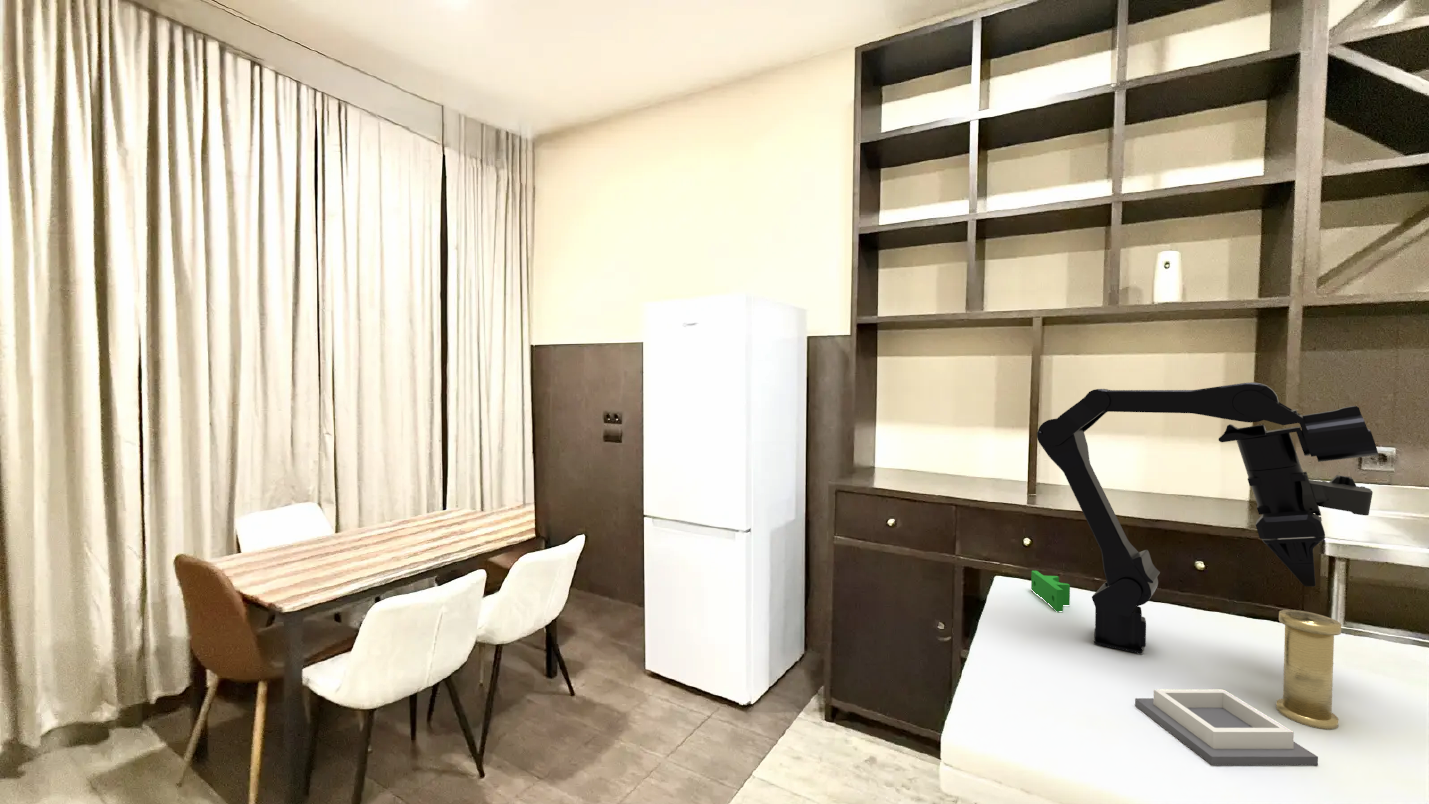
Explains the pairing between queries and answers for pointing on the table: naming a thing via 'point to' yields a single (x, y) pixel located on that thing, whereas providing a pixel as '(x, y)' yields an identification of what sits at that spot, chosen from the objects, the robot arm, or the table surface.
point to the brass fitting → (1308, 668)
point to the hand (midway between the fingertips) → (1309, 577)
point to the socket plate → (1224, 728)
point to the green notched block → (1051, 590)
